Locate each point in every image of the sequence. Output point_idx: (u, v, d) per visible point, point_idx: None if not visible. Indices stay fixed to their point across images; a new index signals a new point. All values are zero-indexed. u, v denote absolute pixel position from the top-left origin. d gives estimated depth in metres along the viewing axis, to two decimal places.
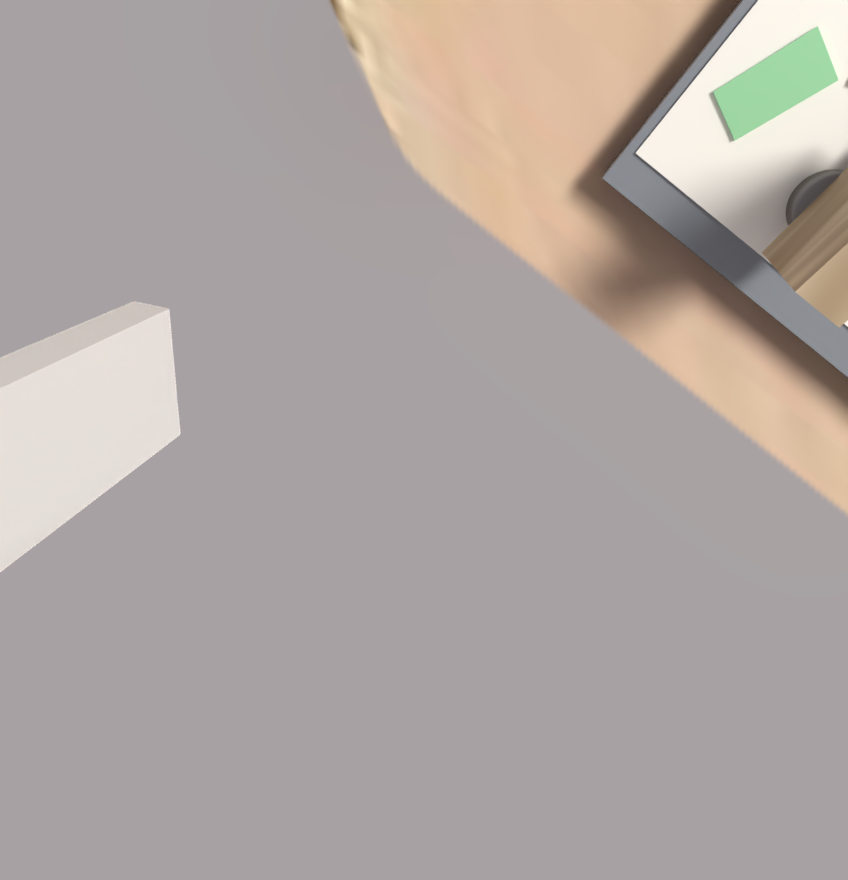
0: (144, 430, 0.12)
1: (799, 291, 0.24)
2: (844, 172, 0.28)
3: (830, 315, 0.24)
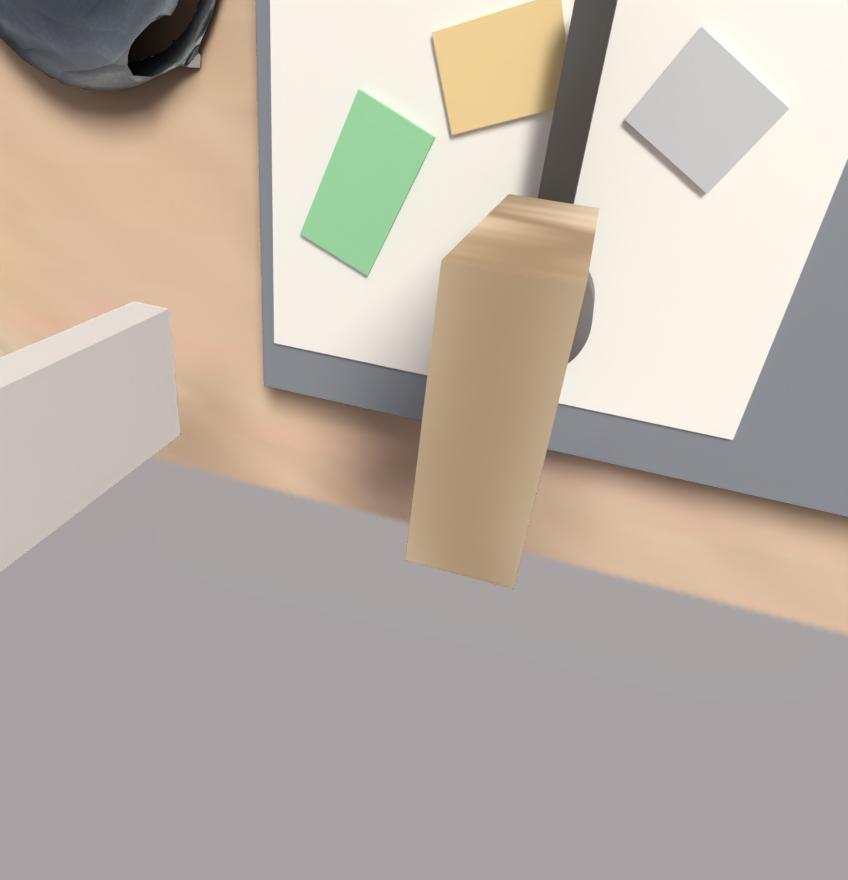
0: (144, 430, 0.12)
1: (410, 558, 0.13)
2: None
3: (484, 576, 0.12)
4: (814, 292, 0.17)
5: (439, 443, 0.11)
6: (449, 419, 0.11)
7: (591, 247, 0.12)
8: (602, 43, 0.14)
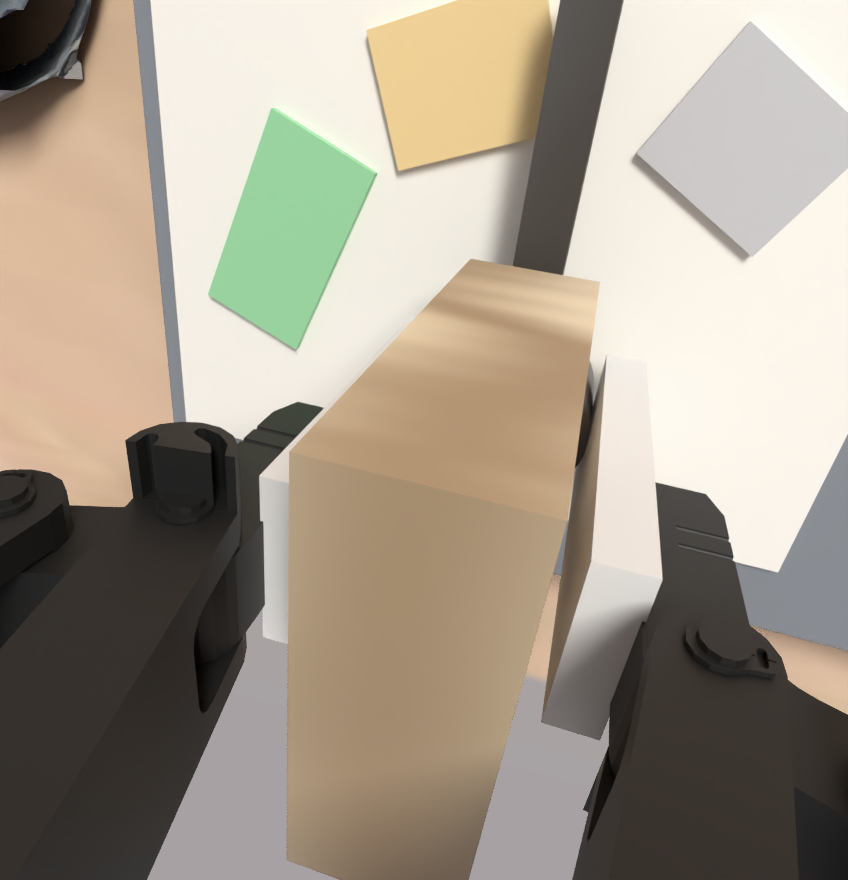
0: None
1: (293, 859, 0.08)
2: None
3: None
4: None
5: (320, 725, 0.07)
6: (332, 693, 0.06)
7: (584, 382, 0.07)
8: (605, 44, 0.10)
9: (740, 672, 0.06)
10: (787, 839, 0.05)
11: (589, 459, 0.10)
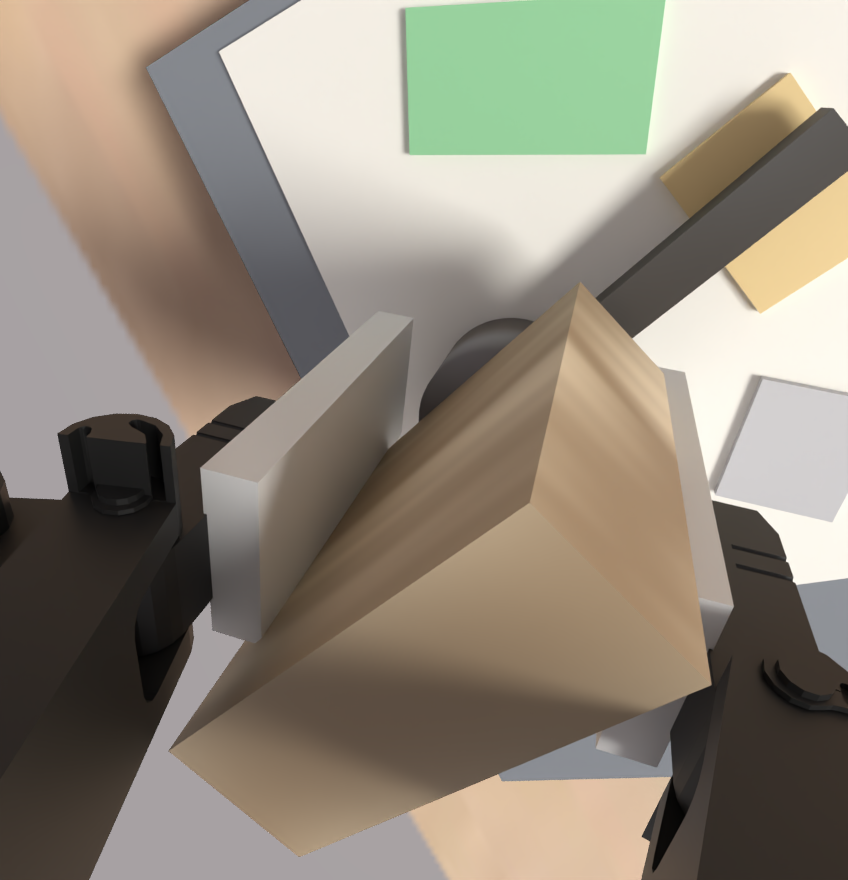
0: (388, 430, 0.13)
1: (177, 754, 0.08)
2: (504, 349, 0.12)
3: (269, 828, 0.08)
4: None
5: (323, 686, 0.07)
6: (362, 672, 0.06)
7: (683, 508, 0.08)
8: (809, 193, 0.10)
9: (824, 707, 0.06)
10: None
11: None
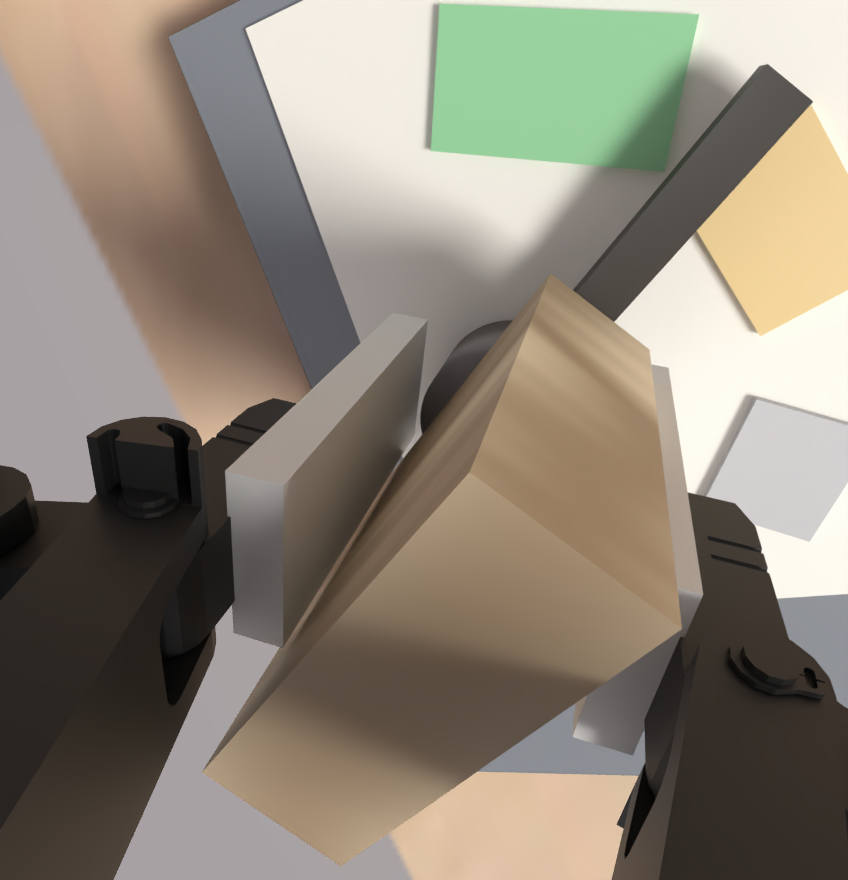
0: (403, 431, 0.13)
1: (210, 774, 0.08)
2: (490, 350, 0.12)
3: (307, 839, 0.08)
4: None
5: (326, 684, 0.07)
6: (358, 666, 0.07)
7: (662, 471, 0.08)
8: (761, 149, 0.10)
9: (787, 691, 0.06)
10: (839, 865, 0.05)
11: None
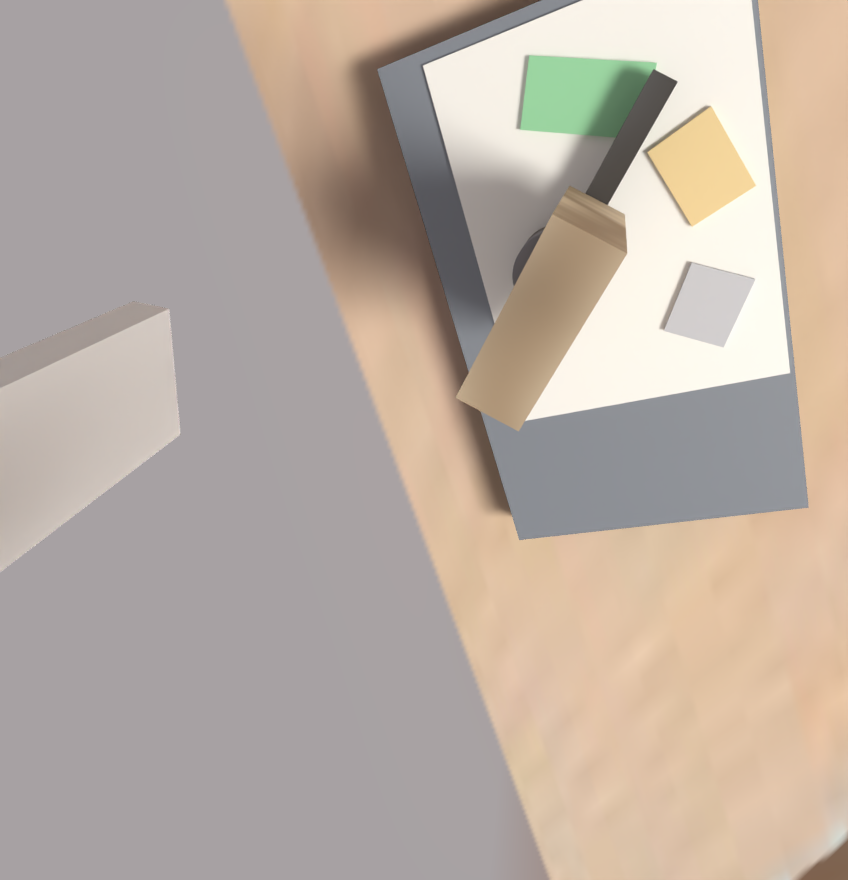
0: (144, 430, 0.12)
1: (459, 396, 0.20)
2: None
3: (503, 419, 0.20)
4: (627, 412, 0.28)
5: (508, 325, 0.18)
6: (520, 311, 0.18)
7: (625, 235, 0.19)
8: (659, 107, 0.22)
9: None
10: None
11: None
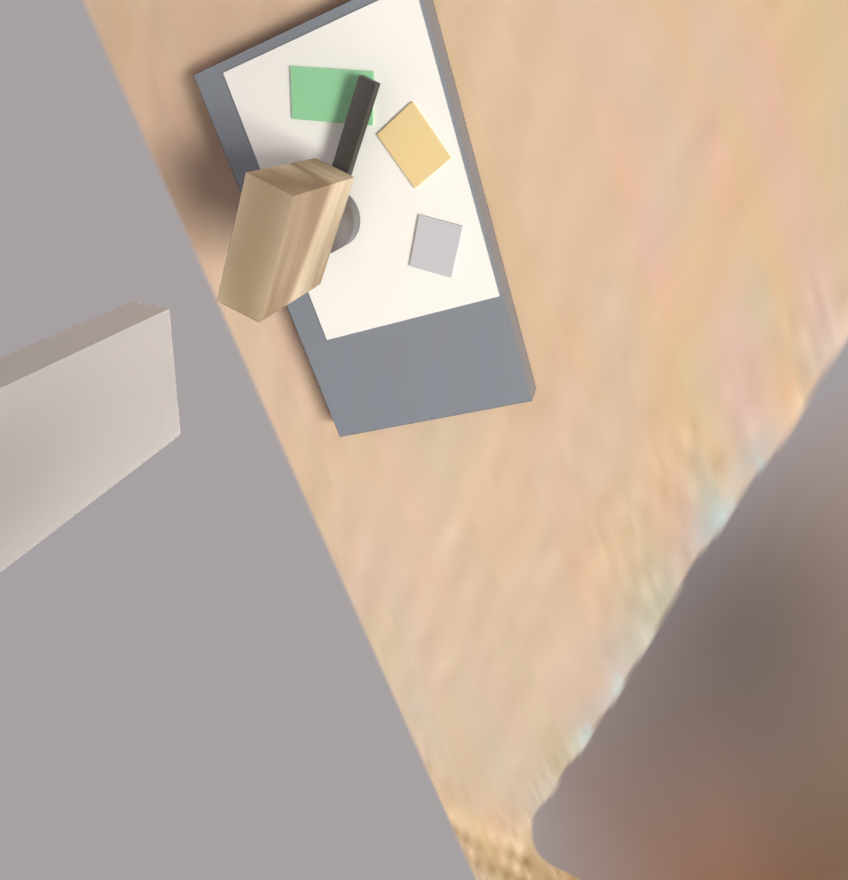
0: (144, 430, 0.12)
1: (219, 300, 0.29)
2: None
3: (247, 314, 0.29)
4: (398, 331, 0.38)
5: (237, 247, 0.28)
6: (242, 237, 0.28)
7: (319, 187, 0.29)
8: (367, 101, 0.31)
9: None
10: None
11: None
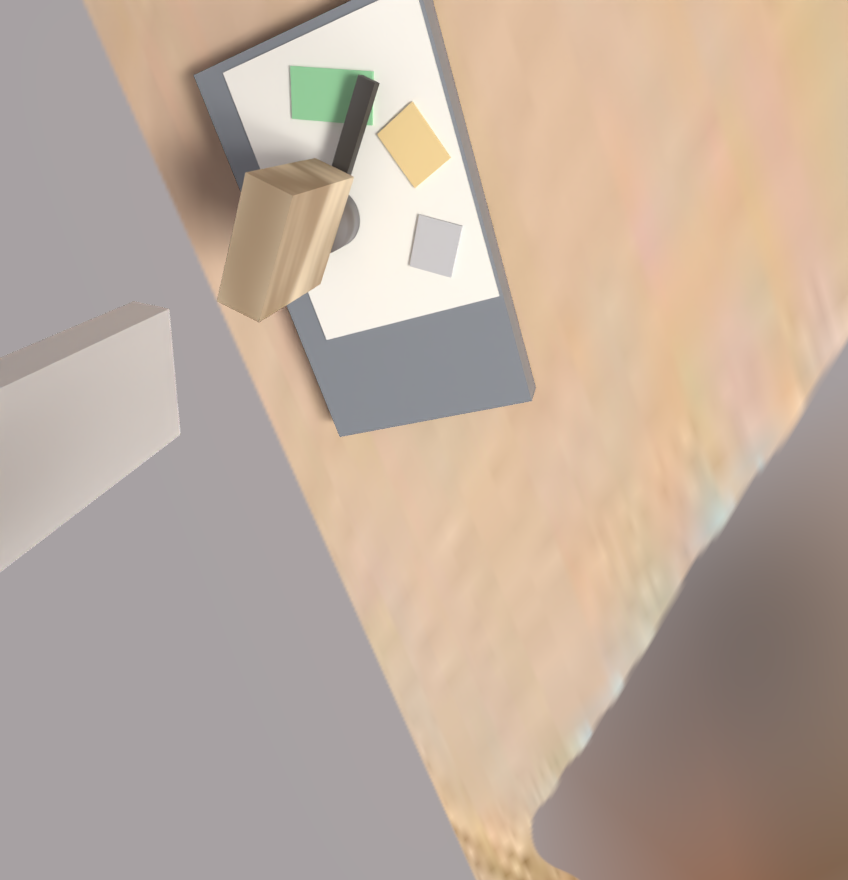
0: (144, 430, 0.12)
1: (219, 300, 0.29)
2: None
3: (248, 314, 0.29)
4: (398, 331, 0.38)
5: (237, 247, 0.28)
6: (241, 237, 0.28)
7: (318, 187, 0.29)
8: (366, 101, 0.31)
9: None
10: None
11: None
